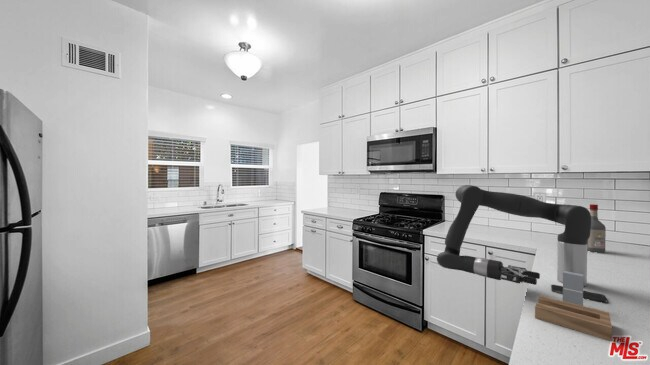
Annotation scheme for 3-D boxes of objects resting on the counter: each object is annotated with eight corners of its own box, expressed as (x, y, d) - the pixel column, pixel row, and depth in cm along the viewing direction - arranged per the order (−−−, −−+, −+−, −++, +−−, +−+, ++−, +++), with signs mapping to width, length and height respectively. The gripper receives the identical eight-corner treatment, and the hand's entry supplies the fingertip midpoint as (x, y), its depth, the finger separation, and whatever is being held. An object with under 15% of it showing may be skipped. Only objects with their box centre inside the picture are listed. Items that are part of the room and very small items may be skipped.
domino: (563, 301, 91) (563, 270, 91) (582, 306, 88) (583, 274, 88) (562, 303, 90) (563, 272, 90) (582, 308, 86) (583, 276, 86)
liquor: (608, 253, 159) (608, 205, 159) (590, 252, 161) (591, 204, 161) (595, 249, 168) (596, 204, 168) (579, 248, 170) (579, 203, 170)
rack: (539, 305, 88) (539, 295, 88) (608, 324, 77) (608, 312, 77) (534, 317, 80) (535, 306, 80) (611, 340, 68) (612, 327, 68)
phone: (608, 302, 90) (551, 289, 100) (608, 305, 90) (551, 292, 100) (604, 294, 96) (551, 283, 106) (604, 297, 96) (551, 286, 106)
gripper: (483, 262, 102) (535, 273, 90) (492, 256, 112) (540, 264, 100) (483, 281, 102) (535, 294, 90) (492, 273, 112) (540, 283, 100)
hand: (538, 278), depth 95 cm, fingers open, 8 cm apart
